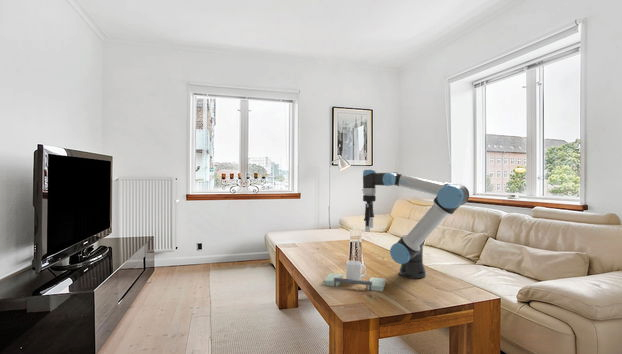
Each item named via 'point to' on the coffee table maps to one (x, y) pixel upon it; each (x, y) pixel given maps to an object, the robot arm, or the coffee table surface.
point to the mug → (354, 270)
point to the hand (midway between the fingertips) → (369, 229)
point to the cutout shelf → (375, 281)
